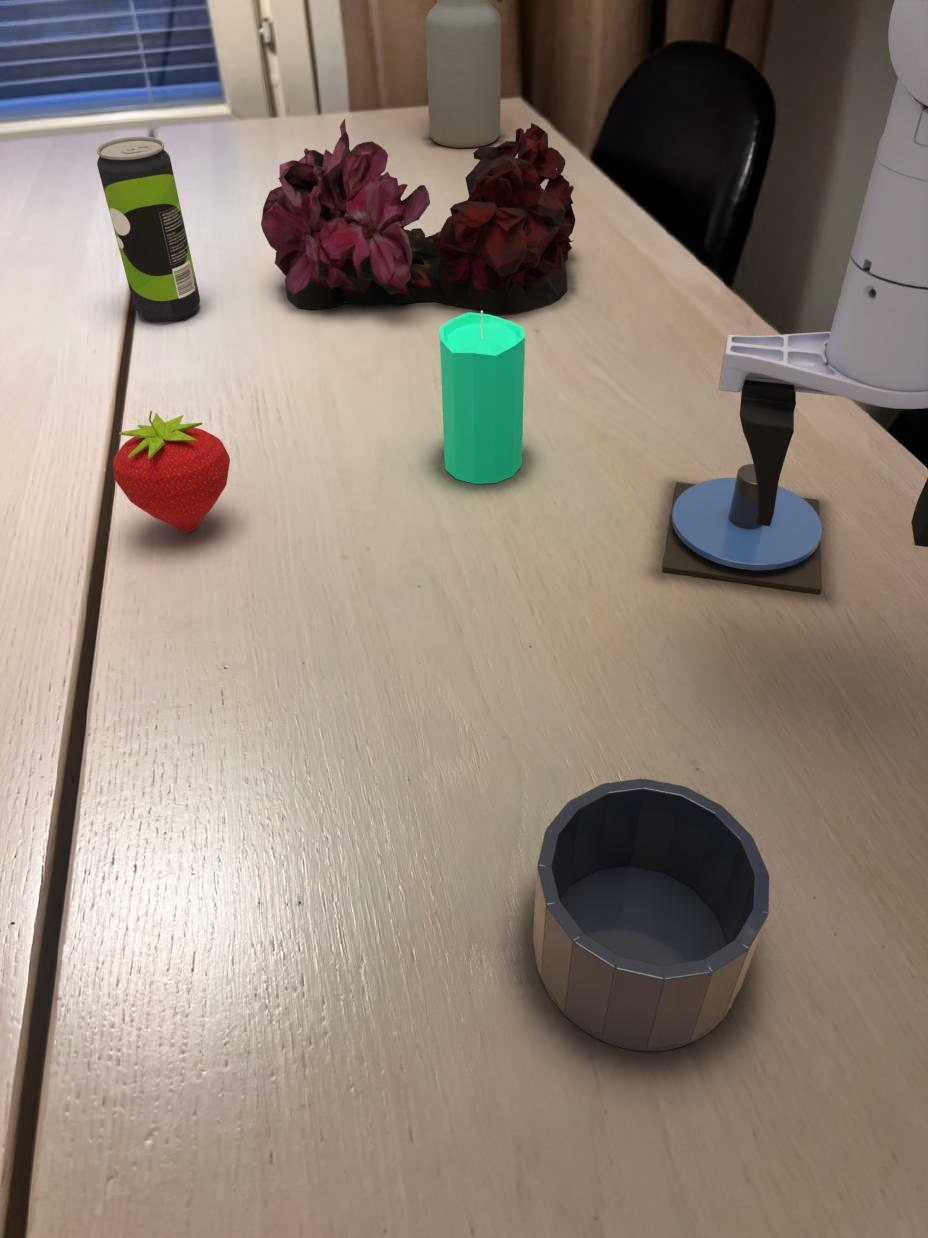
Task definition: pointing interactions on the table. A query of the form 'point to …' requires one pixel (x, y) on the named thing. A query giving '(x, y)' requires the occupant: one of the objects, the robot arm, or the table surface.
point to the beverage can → (149, 227)
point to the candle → (482, 397)
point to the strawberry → (172, 471)
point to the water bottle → (464, 72)
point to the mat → (691, 563)
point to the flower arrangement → (407, 260)
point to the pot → (647, 912)
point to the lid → (745, 524)
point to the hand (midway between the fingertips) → (840, 524)
